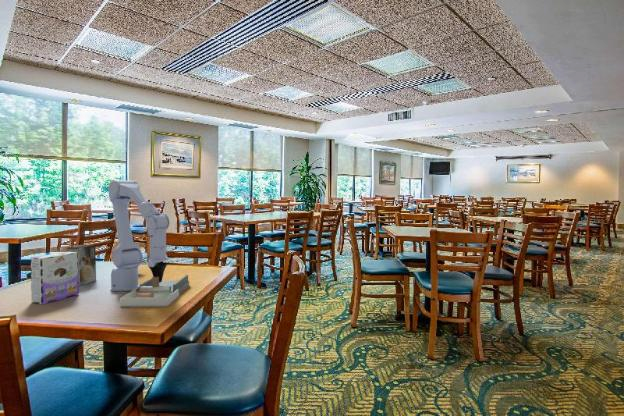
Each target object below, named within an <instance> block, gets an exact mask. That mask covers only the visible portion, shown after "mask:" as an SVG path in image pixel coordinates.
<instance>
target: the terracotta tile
mask: <svg viewBox="0 0 624 416" xmlns="http://www.w3.org/2000/svg"><path fill="white" fill-rule="evenodd" d="M153 297H154V292H141V293H140V294H138V298H153Z"/></svg>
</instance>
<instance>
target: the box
mask: <svg viewBox="0 0 624 416" xmlns="http://www.w3.org/2000/svg"><path fill="white" fill-rule="evenodd" d="M155 293H157V292H154V294H155ZM138 294H140V293H139V292H137V289H135V290H133V291H129V292H128V293H126V294H125V295H123V296H122V297H120V298H119V299H120V301H119V303H120V306H119V307H120V308H121V307H122V308H126V307H127V308H131V307H132V308H135V307H136V308H139V307H142V308H145V307H152V308H153V307H154V308H155V307H158V308H159V307H160V308H161V307H166V308H167V307H169V306H170V305H171V304H172V303H174V302H175V301H176V300H177V299H178V298H179V297H180V294H179V289H177V290H176V291H174V292H169V296H168V297H167V298H154V297H153V298H138Z"/></svg>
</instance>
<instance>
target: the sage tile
mask: <svg viewBox="0 0 624 416" xmlns="http://www.w3.org/2000/svg"><path fill="white" fill-rule="evenodd" d="M168 296H169V291H158V292H157V293H155V294H154V298H167V297H168Z"/></svg>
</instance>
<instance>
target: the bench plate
mask: <svg viewBox="0 0 624 416" xmlns="http://www.w3.org/2000/svg"><path fill="white" fill-rule="evenodd" d="M139 285H140V287H141V286H152V277H150V278H149V279H147V280H145V281H144V282H142V283H141V284H139ZM159 286H171V291H169V292H174V291H176V290H177V289H179V295H180V294H181V293H182V292H183V291H185V290H186V289H187V288H188V287H189V286H190V280H189V274H185V275H184V276H183V277H182V278H180V279H178V280H162V282H160V283H159ZM140 287H139V288H140ZM154 292H158V291H154ZM138 293H141V292H140V290H139V291H138Z"/></svg>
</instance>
